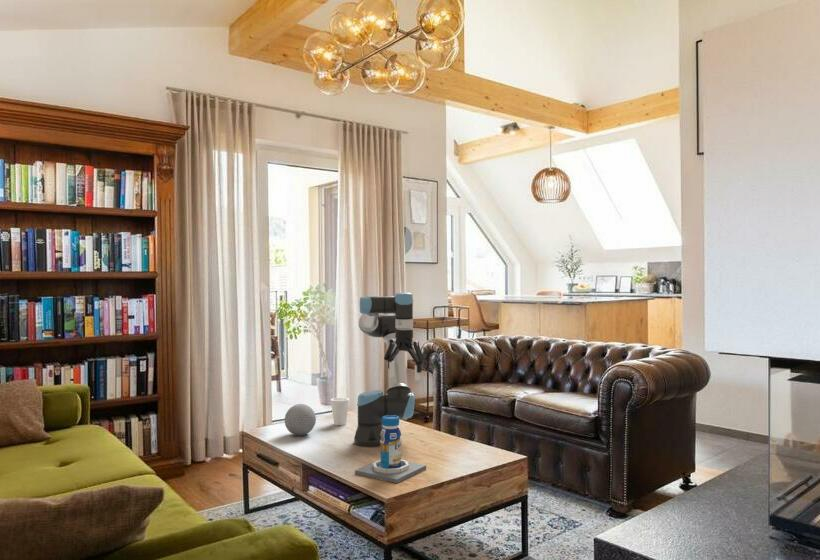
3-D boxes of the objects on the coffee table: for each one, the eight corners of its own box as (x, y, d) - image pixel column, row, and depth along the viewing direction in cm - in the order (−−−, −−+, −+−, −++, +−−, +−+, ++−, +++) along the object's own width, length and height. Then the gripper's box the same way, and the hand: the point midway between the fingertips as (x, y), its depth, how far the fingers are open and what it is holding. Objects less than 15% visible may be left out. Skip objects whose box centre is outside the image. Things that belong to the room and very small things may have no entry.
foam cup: (328, 426, 312) (328, 400, 312) (334, 421, 321) (333, 397, 321) (346, 426, 311) (346, 401, 310) (351, 422, 320) (351, 397, 320)
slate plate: (354, 474, 235) (354, 466, 235) (385, 460, 252) (385, 453, 252) (396, 483, 224) (396, 475, 224) (426, 469, 240) (426, 461, 240)
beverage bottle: (382, 463, 243) (382, 414, 243) (403, 464, 241) (403, 414, 241) (378, 470, 234) (377, 418, 234) (399, 471, 233) (399, 419, 233)
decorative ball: (319, 431, 301) (319, 401, 301) (310, 439, 286) (310, 407, 286) (290, 430, 303) (290, 400, 303) (280, 438, 288) (279, 407, 288)
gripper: (375, 327, 263) (376, 376, 263) (423, 331, 248) (423, 383, 249) (386, 326, 269) (387, 373, 269) (433, 329, 254) (433, 380, 255)
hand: (404, 378), depth 259 cm, fingers open, 13 cm apart
